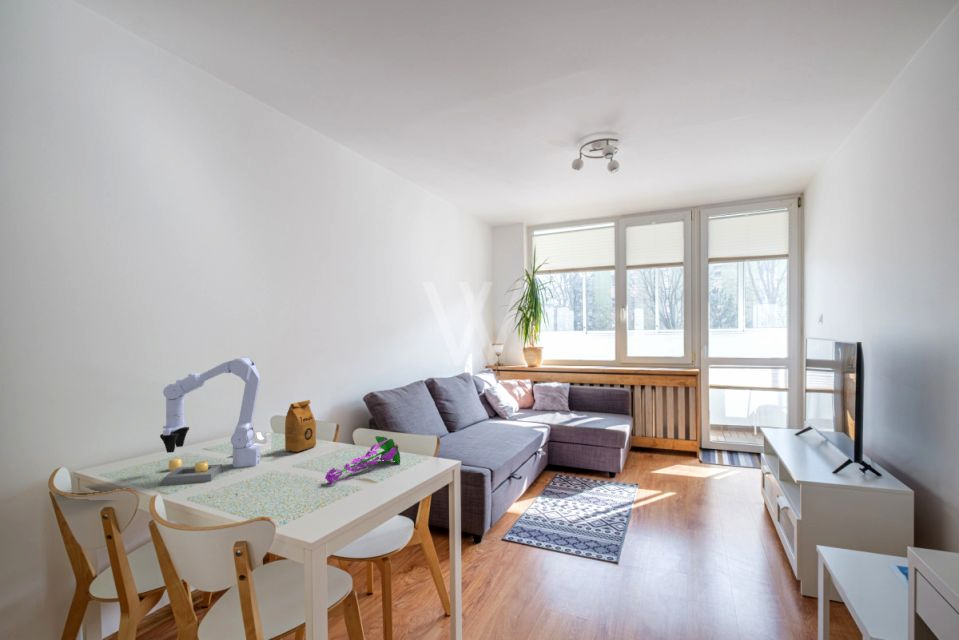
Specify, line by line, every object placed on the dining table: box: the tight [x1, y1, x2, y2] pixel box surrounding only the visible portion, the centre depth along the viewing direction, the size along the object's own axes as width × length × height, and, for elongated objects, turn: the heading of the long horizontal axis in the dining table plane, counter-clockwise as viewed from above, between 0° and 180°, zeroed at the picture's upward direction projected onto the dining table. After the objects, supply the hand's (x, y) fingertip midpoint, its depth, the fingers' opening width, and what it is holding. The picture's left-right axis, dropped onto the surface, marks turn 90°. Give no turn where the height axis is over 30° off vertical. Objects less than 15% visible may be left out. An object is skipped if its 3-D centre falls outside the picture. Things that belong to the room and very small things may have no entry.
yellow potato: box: [194, 461, 209, 473], centre depth 159 cm, size 4×4×5 cm
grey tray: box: [162, 463, 223, 486], centre depth 158 cm, size 15×11×4 cm
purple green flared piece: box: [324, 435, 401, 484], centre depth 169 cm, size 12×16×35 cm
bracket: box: [253, 431, 272, 453], centre depth 194 cm, size 13×7×8 cm, turn 160°
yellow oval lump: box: [168, 458, 183, 472], centre depth 167 cm, size 4×4×5 cm
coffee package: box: [284, 399, 317, 453], centre depth 198 cm, size 10×12×22 cm
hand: (175, 449), depth 167 cm, fingers open, 7 cm apart
